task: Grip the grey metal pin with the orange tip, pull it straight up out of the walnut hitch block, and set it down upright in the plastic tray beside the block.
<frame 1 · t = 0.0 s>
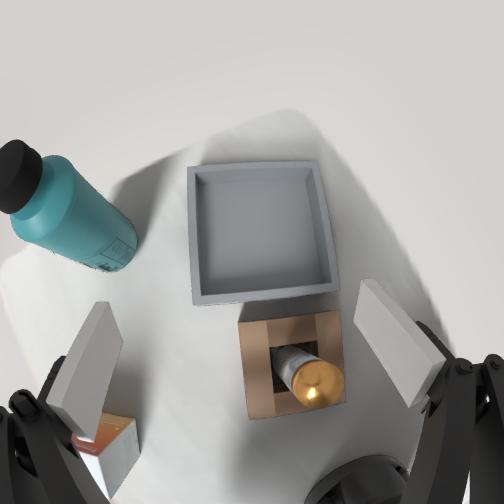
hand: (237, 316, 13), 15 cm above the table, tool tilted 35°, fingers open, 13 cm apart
small box: (109, 430, 24), on the table
tray: (257, 236, 30), on the table
hitch block: (289, 362, 28), on the table
pin: (301, 371, 22), in the hitch block
beverage bottle: (118, 248, 29), on the table
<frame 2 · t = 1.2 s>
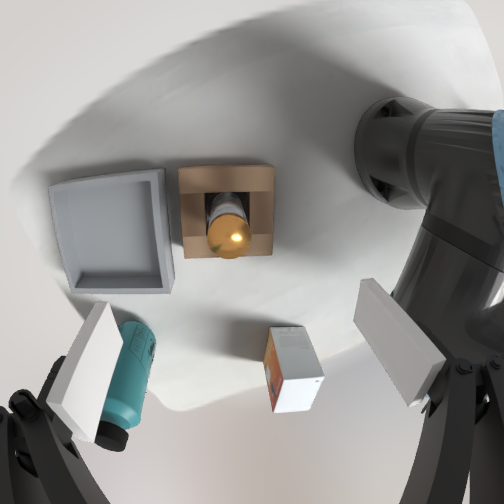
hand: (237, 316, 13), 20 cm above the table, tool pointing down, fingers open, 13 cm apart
small box: (282, 344, 42), on the table
tray: (116, 228, 31), on the table
hitch block: (226, 207, 32), on the table
pin: (227, 220, 27), in the hitch block
beverage bottle: (139, 329, 38), on the table
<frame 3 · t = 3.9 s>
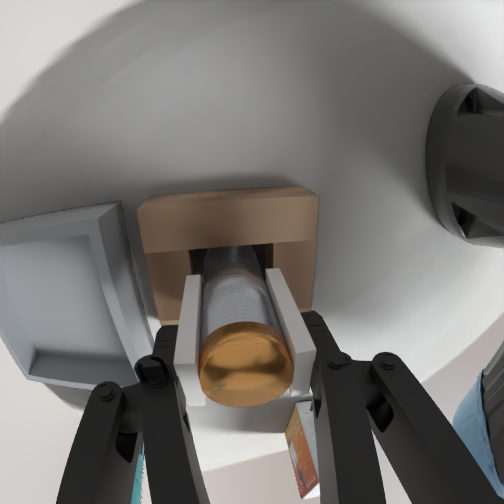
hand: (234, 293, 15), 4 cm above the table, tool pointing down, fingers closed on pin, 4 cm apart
small box: (310, 414, 29), on the table
tray: (65, 296, 18), on the table
hitch block: (230, 261, 19), on the table
pin: (236, 304, 14), in the hitch block, touching gripper
beverage bottle: (123, 409, 25), on the table
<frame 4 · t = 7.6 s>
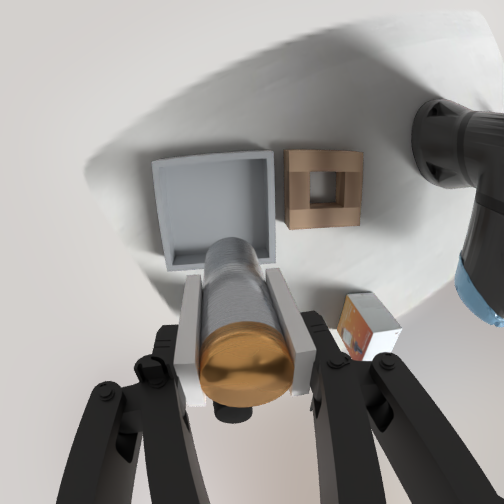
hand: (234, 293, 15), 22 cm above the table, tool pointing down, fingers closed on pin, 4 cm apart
small box: (354, 310, 46), on the table
tray: (216, 205, 36), on the table
hitch block: (319, 185, 36), on the table
pin: (236, 304, 14), point 24 cm above the table, touching gripper
beverage bottle: (226, 306, 42), on the table
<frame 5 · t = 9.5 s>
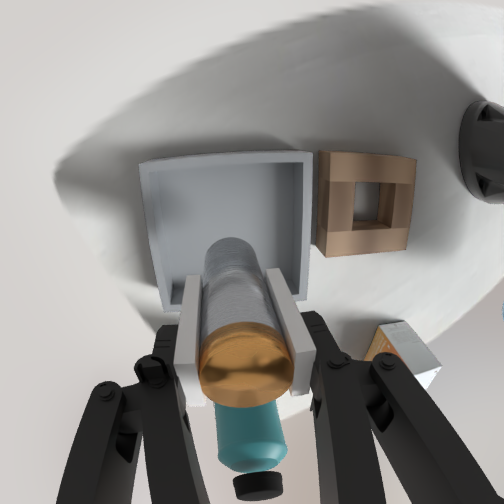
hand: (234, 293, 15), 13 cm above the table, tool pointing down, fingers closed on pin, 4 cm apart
small box: (383, 341, 37), on the table
tray: (228, 224, 27), on the table
hitch block: (360, 199, 27), on the table
pin: (236, 304, 14), point 14 cm above the table, touching gripper
beverage bottle: (237, 345, 33), on the table
when the fingers open (7 cm above the table, at t = 11.3 s): pin drops 1 cm, resting on tray.
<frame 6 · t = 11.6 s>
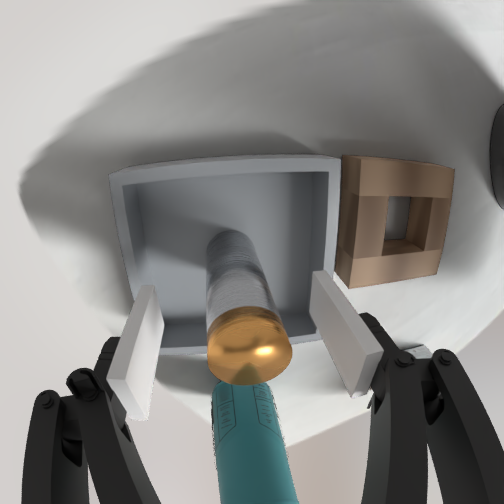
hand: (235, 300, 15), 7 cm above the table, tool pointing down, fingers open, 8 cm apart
tray: (228, 247, 21), on the table
hitch block: (389, 214, 22), on the table
pin: (237, 292, 16), in the tray, point 6 cm above the table
beverage bottle: (240, 381, 28), on the table
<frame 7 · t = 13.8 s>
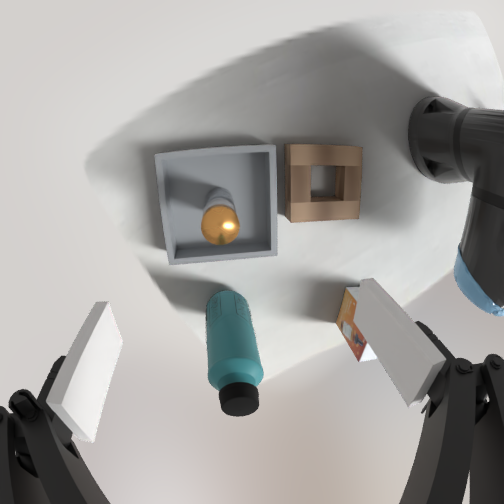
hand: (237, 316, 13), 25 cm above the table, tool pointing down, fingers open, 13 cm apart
small box: (353, 304, 46), on the table
tray: (218, 199, 36), on the table
hitch block: (319, 179, 36), on the table
pin: (219, 211, 30), in the tray, point 6 cm above the table
beverage bottle: (227, 301, 42), on the table
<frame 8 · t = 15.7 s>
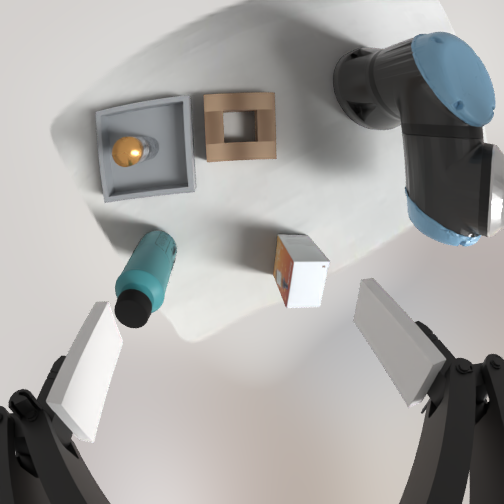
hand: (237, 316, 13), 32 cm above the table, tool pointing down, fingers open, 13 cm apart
small box: (289, 254, 48), on the table
tray: (148, 148, 38), on the table
hitch block: (238, 126, 38), on the table
pin: (138, 149, 32), in the tray, point 6 cm above the table
beverage bottle: (160, 243, 45), on the table
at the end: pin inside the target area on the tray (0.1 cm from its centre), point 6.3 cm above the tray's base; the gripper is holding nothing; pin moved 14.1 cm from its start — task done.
